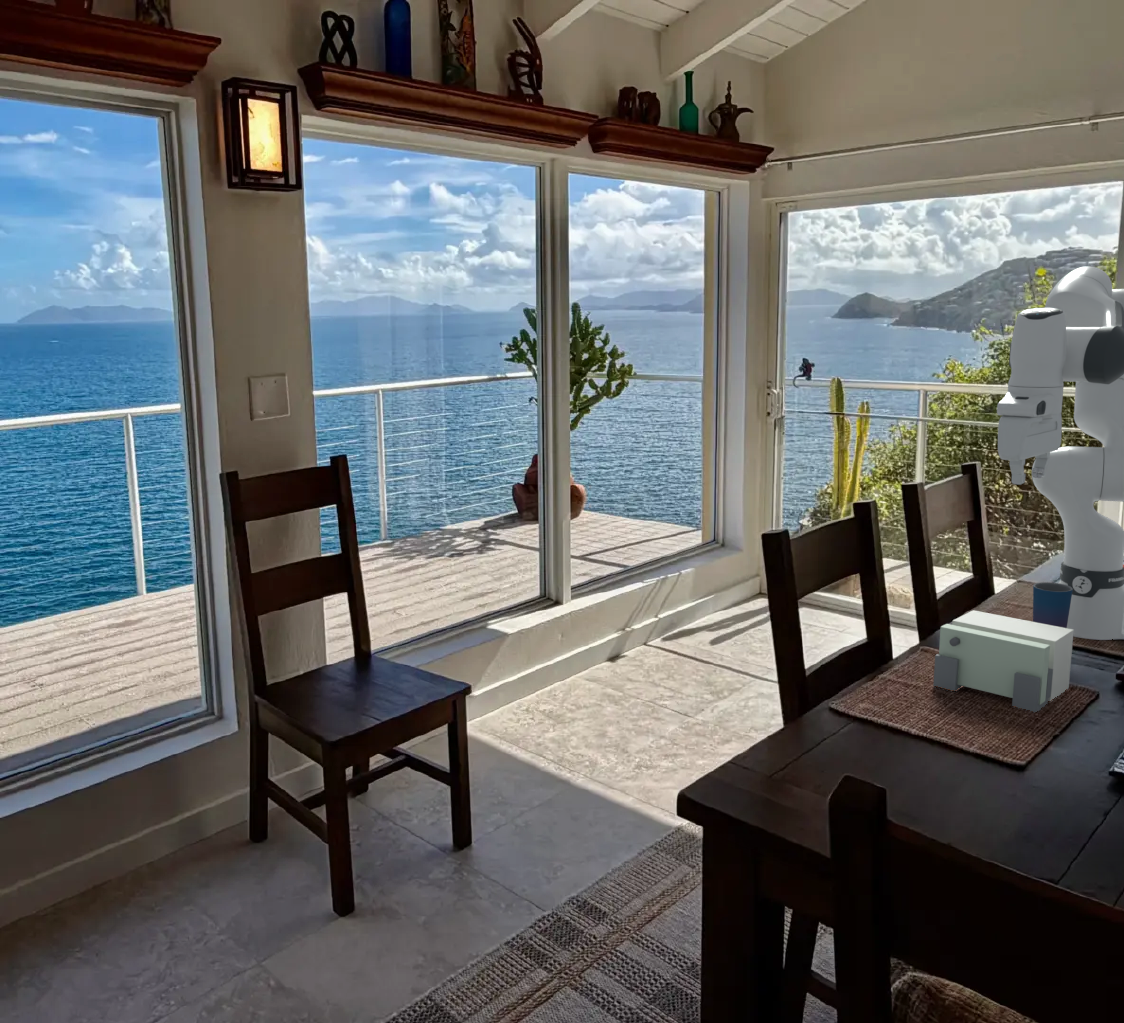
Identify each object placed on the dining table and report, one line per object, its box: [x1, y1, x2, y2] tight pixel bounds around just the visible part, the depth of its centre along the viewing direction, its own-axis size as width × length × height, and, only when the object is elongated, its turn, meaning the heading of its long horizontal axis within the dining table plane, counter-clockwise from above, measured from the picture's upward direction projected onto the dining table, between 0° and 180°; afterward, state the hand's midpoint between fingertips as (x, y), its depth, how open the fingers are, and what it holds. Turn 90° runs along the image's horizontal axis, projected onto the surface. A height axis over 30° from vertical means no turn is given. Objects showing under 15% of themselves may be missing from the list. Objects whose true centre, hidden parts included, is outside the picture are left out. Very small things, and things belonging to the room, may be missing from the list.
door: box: [938, 623, 1050, 705], centre depth 178 cm, size 4×18×10 cm, turn 45°
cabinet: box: [932, 609, 1074, 713], centre depth 182 cm, size 16×18×11 cm
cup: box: [1032, 581, 1073, 628], centre depth 195 cm, size 7×7×15 cm
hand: (1028, 480), depth 180 cm, fingers open, 8 cm apart
